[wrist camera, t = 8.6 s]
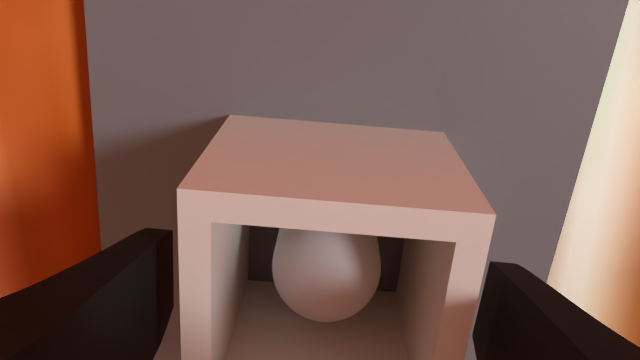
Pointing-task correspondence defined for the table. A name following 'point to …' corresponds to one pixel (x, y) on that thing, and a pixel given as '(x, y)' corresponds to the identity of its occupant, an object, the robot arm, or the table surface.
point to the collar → (330, 216)
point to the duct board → (347, 116)
